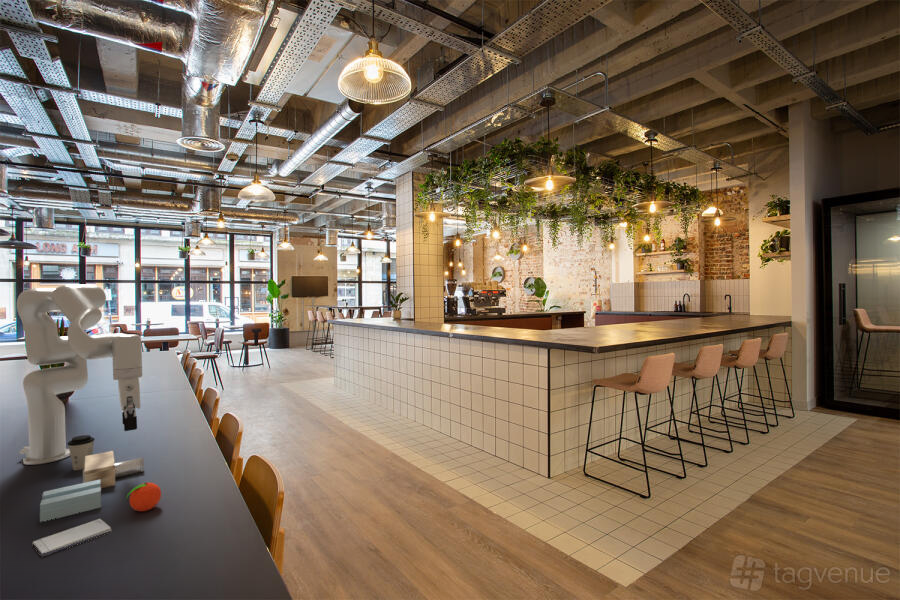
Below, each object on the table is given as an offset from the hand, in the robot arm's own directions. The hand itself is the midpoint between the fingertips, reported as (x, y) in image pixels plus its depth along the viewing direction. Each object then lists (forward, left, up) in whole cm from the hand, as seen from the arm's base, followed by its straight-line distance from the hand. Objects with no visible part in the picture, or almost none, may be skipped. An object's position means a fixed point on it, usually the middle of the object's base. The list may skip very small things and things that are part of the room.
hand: (129, 426), depth 139 cm
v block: (0, -22, -15) cm, 26 cm away
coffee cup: (-20, +6, -15) cm, 26 cm away
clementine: (+21, -25, -15) cm, 36 cm away
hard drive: (+13, -38, -16) cm, 43 cm away
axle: (-4, -2, -15) cm, 16 cm away
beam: (-6, -4, -15) cm, 17 cm away
